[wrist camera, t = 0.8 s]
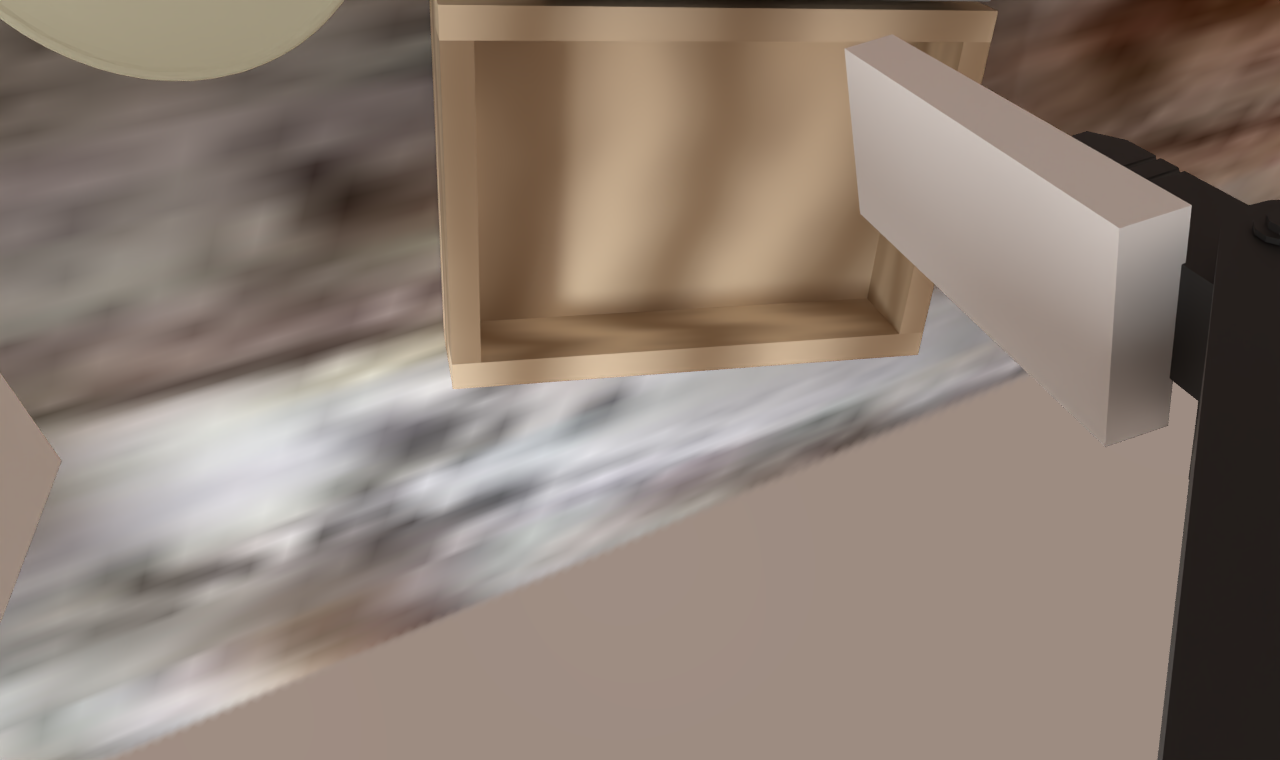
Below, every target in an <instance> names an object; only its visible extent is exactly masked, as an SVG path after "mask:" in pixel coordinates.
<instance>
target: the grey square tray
mask: <svg viewBox="0 0 1280 760" xmlns="http://www.w3.org/2000/svg"><path fill="white" fill-rule="evenodd" d="M917 1H991V0H917Z"/></svg>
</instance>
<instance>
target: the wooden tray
mask: <svg viewBox="0 0 1280 760" xmlns="http://www.w3.org/2000/svg"><path fill="white" fill-rule="evenodd" d="M429 1H430V24H431V47H432V70H433V93H434V116H435V140H436V163H437V186H438V209H439V232H440V255H441V279H442V302H443V325H444V338H445V344H446V350H447V356H448V362H449V368H450V374H451V380H452V386H453V389H461V388H475V387H488V386H502V385H515V384H529V383H542V382H556V381H569V380H583V379H596V378H610V377H623V376H637V375H650V374H664V373H677V372H691V371H705V370H718V369H732V368H745V367H759V366H772V365H786V364H799V363H813V362H826V361H840V360H853V359H867V358H880V357H894V356H907V355H918V352H919V347H920V343H921V339H922V334H923V330H924V326H925V322H926V317H927V313H928V309H929V305H930V300H931V296H932V292H933V288H934V283H933V282H931V281H930V280H929V279H928V278H927V277H926V276H925V275H924V274H923V273H922V272H921V271H920V270H919V269H918V268H917V267H916V266H915V265H914V264H913V263H912V262H910V261H909V260H908V259H907V258H906V257H905V256H904V255H903V254H902V253H901V252H900V251H899V250H898V249H897V248H896V247H895V246H894V245H893V244H892V243H891V242H889V241H888V240H887V239H886V238H885V237H884V236H883V235H882V234H881V233H880V232H879V231H878V230H877V229H876V228H875V227H874V226H873V225H872V224H871V223H870V222H868V221H867V220H866V219H865V218H864V217H863V216H862V215H861V214H860V207H859V197H858V186H857V176H856V165H855V155H854V144H853V134H852V123H851V113H850V102H849V92H848V81H847V71H846V60H845V50H844V48H848V47H851V46H854V45H858V44H861V43H865V42H868V41H871V40H875V39H878V38H881V37H885V36H888V35H892V34H893V35H894V36H896V37H898V38H900V39H901V40H903V41H905V42H907V43H908V44H910V45H912V46H914V47H916V48H917V49H919V50H921V51H923V52H924V53H926V54H928V55H930V56H931V57H933V58H935V59H937V60H938V61H940V62H942V63H944V64H945V65H947V66H949V67H951V68H952V69H954V70H956V71H958V72H959V73H961V74H963V75H965V76H966V77H968V78H970V79H972V80H973V81H975V82H977V83H979V84H980V85H981V83H982V78H983V74H984V70H985V65H986V61H987V57H988V53H989V48H990V44H991V40H992V36H993V31H994V27H995V23H996V19H997V14H998V11H997V10H995V9H993V8H990V7H988V6H986V5H984V4H981V3H979V2H977V1H917V0H429Z"/></svg>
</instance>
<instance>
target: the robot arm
mask: <svg viewBox="0 0 1280 760" xmlns="http://www.w3.org/2000/svg"><path fill="white" fill-rule="evenodd" d="M844 50H845V60H846V71H847V81H848V92H849V102H850V113H851V123H852V134H853V144H854V155H855V165H856V176H857V186H858V197H859V207H860V214H861V215H862V216H863V217H864V218H865V219H866V220H867V221H868V222H870V223H871V224H872V225H873V226H874V227H875V228H876V229H877V230H878V231H879V232H880V233H881V234H882V235H883V236H884V237H885V238H886V239H887V240H888V241H889V242H891V243H892V244H893V245H894V246H895V247H896V248H897V249H898V250H899V251H900V252H901V253H902V254H903V255H904V256H905V257H906V258H907V259H908V260H909V261H910V262H912V263H913V264H914V265H915V266H916V267H917V268H918V269H919V270H920V271H921V272H922V273H923V274H924V275H925V276H926V277H927V278H928V279H929V280H930V281H931V282H933V283H934V284H935V285H936V286H937V287H938V288H939V289H940V290H941V291H942V292H943V293H944V294H945V295H946V296H947V297H948V298H949V299H950V300H951V301H952V302H954V303H955V304H956V305H957V306H958V307H959V308H960V309H961V310H962V311H963V312H964V313H965V314H966V315H967V316H968V317H969V318H970V319H971V320H972V321H973V322H975V323H976V324H977V325H978V326H979V327H980V328H981V329H982V330H983V331H984V332H985V333H986V334H987V335H988V336H989V337H990V338H991V339H992V340H993V341H995V342H996V343H997V344H998V345H999V346H1000V347H1001V348H1002V349H1003V350H1004V351H1005V352H1006V353H1007V354H1008V355H1009V356H1010V357H1011V358H1012V359H1013V360H1014V361H1016V362H1017V363H1018V364H1019V365H1020V366H1021V367H1022V368H1023V369H1024V370H1025V371H1026V372H1027V373H1028V374H1029V375H1030V376H1031V377H1032V378H1033V379H1034V380H1036V381H1037V382H1038V383H1039V384H1040V385H1041V386H1042V387H1043V388H1044V389H1045V390H1046V391H1047V392H1048V393H1049V394H1050V395H1051V396H1052V397H1053V398H1054V399H1055V400H1056V401H1058V402H1059V403H1060V404H1061V405H1062V406H1063V407H1064V408H1065V409H1066V410H1067V411H1068V412H1069V413H1070V414H1071V415H1072V416H1073V417H1074V418H1075V419H1076V420H1077V421H1079V422H1080V423H1081V424H1082V425H1083V426H1084V427H1085V428H1086V429H1087V430H1088V431H1089V432H1090V433H1091V434H1092V435H1093V436H1094V437H1095V438H1096V439H1098V441H1100V442H1101V443H1102V444H1103V445H1104V446H1105V447H1106V446H1110V445H1113V444H1116V443H1118V442H1122V441H1125V440H1127V439H1130V438H1133V437H1136V436H1139V435H1142V434H1145V433H1148V432H1151V431H1154V430H1157V429H1160V428H1163V427H1166V426H1168V420H1169V411H1170V402H1171V393H1172V384H1173V381H1174V382H1175V383H1176V384H1178V385H1179V386H1180V387H1181V388H1183V389H1184V390H1185V391H1186V392H1188V393H1189V394H1190V395H1191V396H1193V397H1194V398H1195V399H1196V400H1198V409H1197V417H1196V425H1195V433H1194V440H1193V448H1192V456H1191V464H1190V472H1189V486H1188V495H1187V505H1186V513H1185V522H1184V531H1183V539H1182V548H1181V558H1180V567H1179V575H1178V584H1177V593H1176V601H1175V611H1174V619H1173V628H1172V636H1171V645H1170V654H1169V663H1168V672H1167V681H1166V690H1165V699H1164V707H1163V716H1162V725H1161V734H1160V743H1159V751H1158V760H1280V200H1270V201H1265V202H1261V203H1257V204H1253V205H1247V204H1245V203H1243V202H1241V201H1240V200H1238V199H1236V198H1234V197H1232V196H1230V195H1228V194H1226V193H1225V192H1223V191H1221V190H1219V189H1217V188H1215V187H1213V186H1212V185H1210V184H1208V183H1206V182H1204V181H1202V180H1200V179H1198V178H1197V177H1195V176H1193V175H1191V174H1189V173H1187V172H1185V171H1184V172H1180V171H1179V168H1178V167H1176V166H1174V165H1172V164H1170V163H1169V162H1167V161H1165V160H1163V159H1158V160H1156V156H1155V155H1154V154H1152V153H1150V152H1148V151H1146V150H1144V149H1142V148H1141V147H1139V146H1137V145H1135V144H1133V143H1131V142H1129V141H1127V140H1124V139H1119V138H1115V137H1110V136H1106V135H1101V134H1097V133H1092V132H1088V131H1086V132H1083V133H1080V134H1077V135H1073V136H1070V135H1068V134H1066V133H1064V132H1063V131H1061V130H1059V129H1057V128H1056V127H1054V126H1052V125H1050V124H1049V123H1047V122H1045V121H1043V120H1042V119H1040V118H1038V117H1036V116H1035V115H1033V114H1031V113H1029V112H1028V111H1026V110H1024V109H1022V108H1021V107H1019V106H1017V105H1015V104H1014V103H1012V102H1010V101H1008V100H1007V99H1005V98H1003V97H1001V96H1000V95H998V94H996V93H994V92H993V91H991V90H989V89H987V88H986V87H984V86H982V85H980V84H979V83H977V82H975V81H973V80H972V79H970V78H968V77H966V76H965V75H963V74H961V73H959V72H958V71H956V70H954V69H952V68H951V67H949V66H947V65H945V64H944V63H942V62H940V61H938V60H937V59H935V58H933V57H931V56H930V55H928V54H926V53H924V52H923V51H921V50H919V49H917V48H916V47H914V46H912V45H910V44H908V43H907V42H905V41H903V40H901V39H900V38H898V37H896V36H894V35H893V34H892V35H888V36H885V37H881V38H878V39H875V40H871V41H868V42H865V43H861V44H858V45H854V46H851V47H848V48H844ZM60 464H61V460H60V458H59V457H58V455H57V454H56V452H55V451H54V449H53V448H52V447H51V445H50V444H49V442H48V441H47V439H46V438H45V436H44V435H43V434H42V432H41V431H40V429H39V428H38V426H37V425H36V423H35V422H34V421H33V419H32V418H31V416H30V415H29V413H28V412H27V410H26V409H25V408H24V406H23V405H22V403H21V402H20V400H19V399H18V398H17V396H16V395H15V393H14V392H13V390H12V389H11V387H10V386H9V385H8V383H7V382H6V380H5V379H4V377H3V376H2V374H1V373H0V623H1V620H2V617H3V615H4V612H5V609H6V607H7V604H8V602H9V599H10V596H11V594H12V591H13V588H14V586H15V583H16V580H17V578H18V575H19V572H20V570H21V567H22V565H23V562H24V559H25V557H26V554H27V551H28V549H29V546H30V543H31V541H32V538H33V535H34V533H35V530H36V527H37V525H38V522H39V520H40V517H41V514H42V512H43V509H44V506H45V504H46V501H47V498H48V496H49V493H50V490H51V488H52V485H53V482H54V480H55V477H56V475H57V472H58V469H59V467H60Z"/></svg>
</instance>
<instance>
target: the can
mask: <svg viewBox="0 0 1280 760" xmlns="http://www.w3.org/2000/svg"><path fill="white" fill-rule="evenodd" d="M343 1H344V0H0V19H1V20H3V21H4V22H6V23H7V24H9V25H10V26H11V27H13V28H14V29H16V30H17V31H19V32H20V33H22V34H24V35H25V36H27V37H28V38H30V39H32V40H33V41H35V42H37V43H39V44H41V45H42V46H44V47H46V48H48V49H50V50H53V51H55V52H57V53H59V54H61V55H63V56H65V57H67V58H70V59H73V60H75V61H78V62H81V63H83V64H86V65H89V66H91V67H94V68H97V69H101V70H104V71H108V72H112V73H115V74H119V75H125V76H130V77H136V78H141V79H149V80H159V81H196V80H205V79H214V78H219V77H224V76H228V75H233V74H237V73H242V72H245V71H247V70H250V69H253V68H256V67H258V66H261V65H263V64H266V63H268V62H270V61H272V60H274V59H276V58H278V57H280V56H282V55H284V54H285V53H287V52H289V51H290V50H292V49H294V48H295V47H297V46H298V45H300V44H301V43H302V42H304V41H305V40H307V39H308V38H309V37H310V36H311V35H313V34H314V33H315V32H316V31H317V30H318V29H319V28H320V27H321V26H323V25H324V24H325V23H326V22H327V21H328V20H329V18H330V17H331V16H332V15H333V14H334V13H335V11H336V10H337V9H338V8H339V7H340V5H341V4H342V3H343Z"/></svg>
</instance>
